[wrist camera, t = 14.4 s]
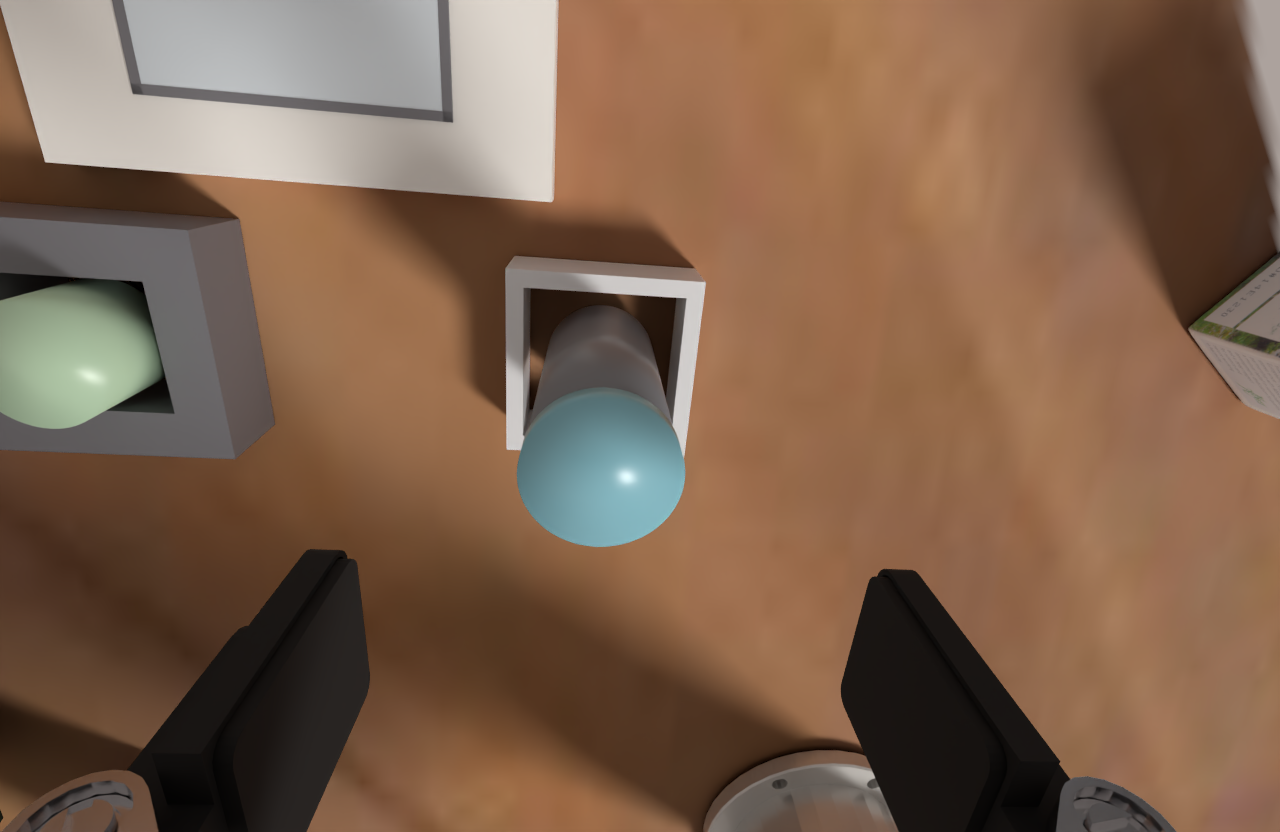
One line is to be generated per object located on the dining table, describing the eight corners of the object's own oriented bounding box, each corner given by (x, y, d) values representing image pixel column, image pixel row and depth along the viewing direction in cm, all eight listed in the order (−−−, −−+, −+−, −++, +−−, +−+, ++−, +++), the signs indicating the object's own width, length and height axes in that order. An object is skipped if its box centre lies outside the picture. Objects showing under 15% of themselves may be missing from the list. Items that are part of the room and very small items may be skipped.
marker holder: (695, 268, 23) (705, 282, 21) (676, 429, 26) (684, 457, 24) (514, 255, 23) (505, 268, 21) (514, 422, 26) (506, 449, 23)
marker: (656, 299, 24) (694, 404, 14) (647, 397, 26) (676, 549, 16) (549, 292, 24) (517, 395, 14) (547, 392, 25) (516, 544, 16)
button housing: (239, 219, 22) (187, 230, 19) (275, 424, 25) (235, 458, 22) (-8, 200, 21) (-98, 210, 18) (62, 414, 24) (-6, 449, 22)
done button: (162, 281, 21) (84, 306, 18) (188, 390, 23) (120, 431, 19) (35, 273, 21) (-68, 297, 17) (70, 384, 22) (-19, 425, 19)
